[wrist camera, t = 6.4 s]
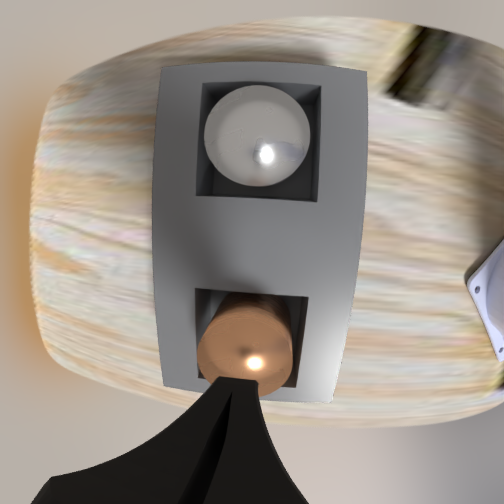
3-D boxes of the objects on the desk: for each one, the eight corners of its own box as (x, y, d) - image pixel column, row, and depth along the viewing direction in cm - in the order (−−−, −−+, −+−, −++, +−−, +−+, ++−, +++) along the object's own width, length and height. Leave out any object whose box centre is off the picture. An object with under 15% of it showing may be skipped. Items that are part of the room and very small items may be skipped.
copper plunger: (287, 355, 16) (287, 401, 12) (216, 349, 16) (198, 391, 12) (294, 288, 15) (297, 323, 11) (216, 283, 15) (195, 314, 11)
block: (323, 362, 18) (331, 402, 14) (184, 350, 18) (163, 385, 14) (348, 96, 14) (366, 71, 10) (187, 91, 15) (161, 67, 11)
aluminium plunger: (300, 188, 15) (307, 189, 11) (222, 184, 15) (201, 184, 11) (304, 112, 14) (311, 87, 10) (226, 110, 14) (207, 86, 10)
